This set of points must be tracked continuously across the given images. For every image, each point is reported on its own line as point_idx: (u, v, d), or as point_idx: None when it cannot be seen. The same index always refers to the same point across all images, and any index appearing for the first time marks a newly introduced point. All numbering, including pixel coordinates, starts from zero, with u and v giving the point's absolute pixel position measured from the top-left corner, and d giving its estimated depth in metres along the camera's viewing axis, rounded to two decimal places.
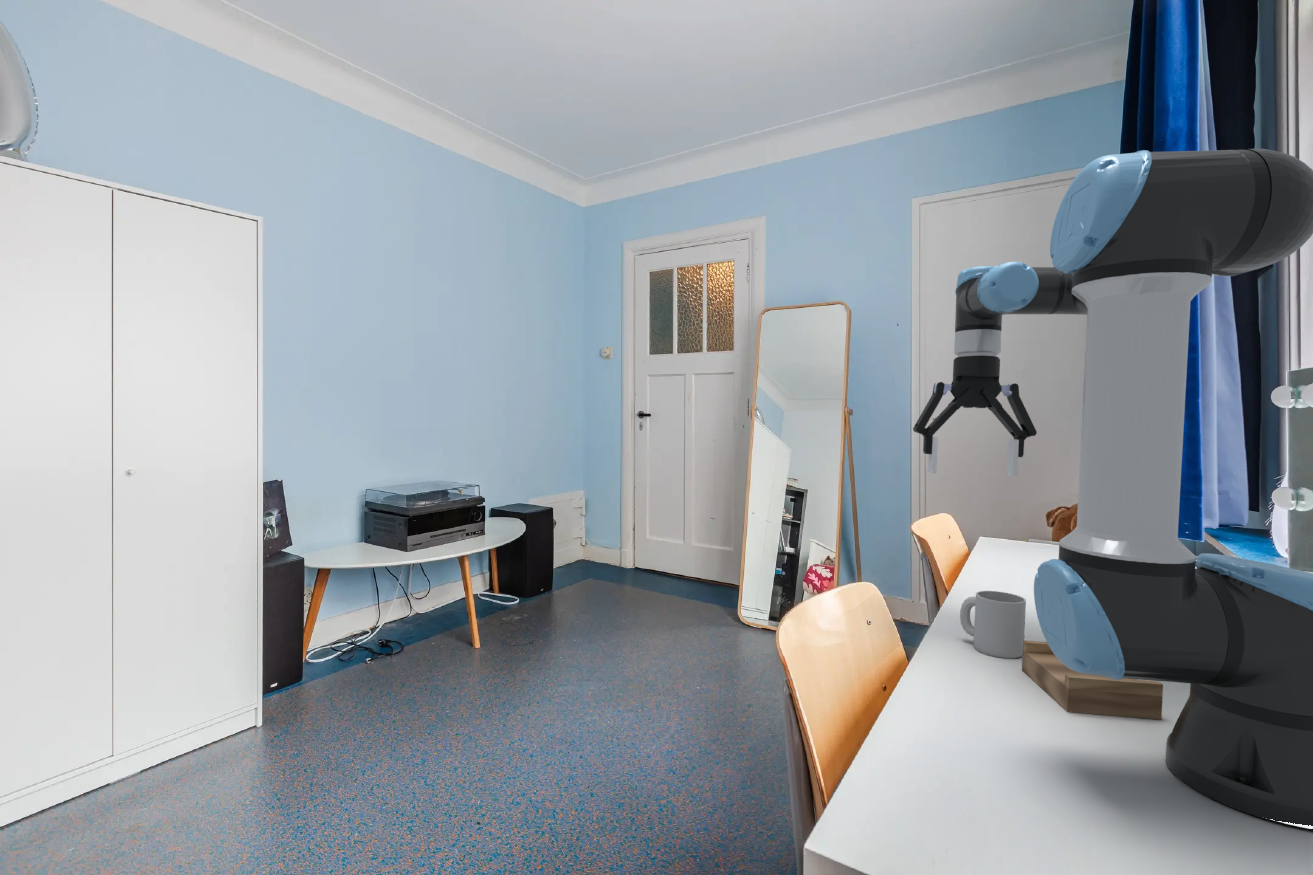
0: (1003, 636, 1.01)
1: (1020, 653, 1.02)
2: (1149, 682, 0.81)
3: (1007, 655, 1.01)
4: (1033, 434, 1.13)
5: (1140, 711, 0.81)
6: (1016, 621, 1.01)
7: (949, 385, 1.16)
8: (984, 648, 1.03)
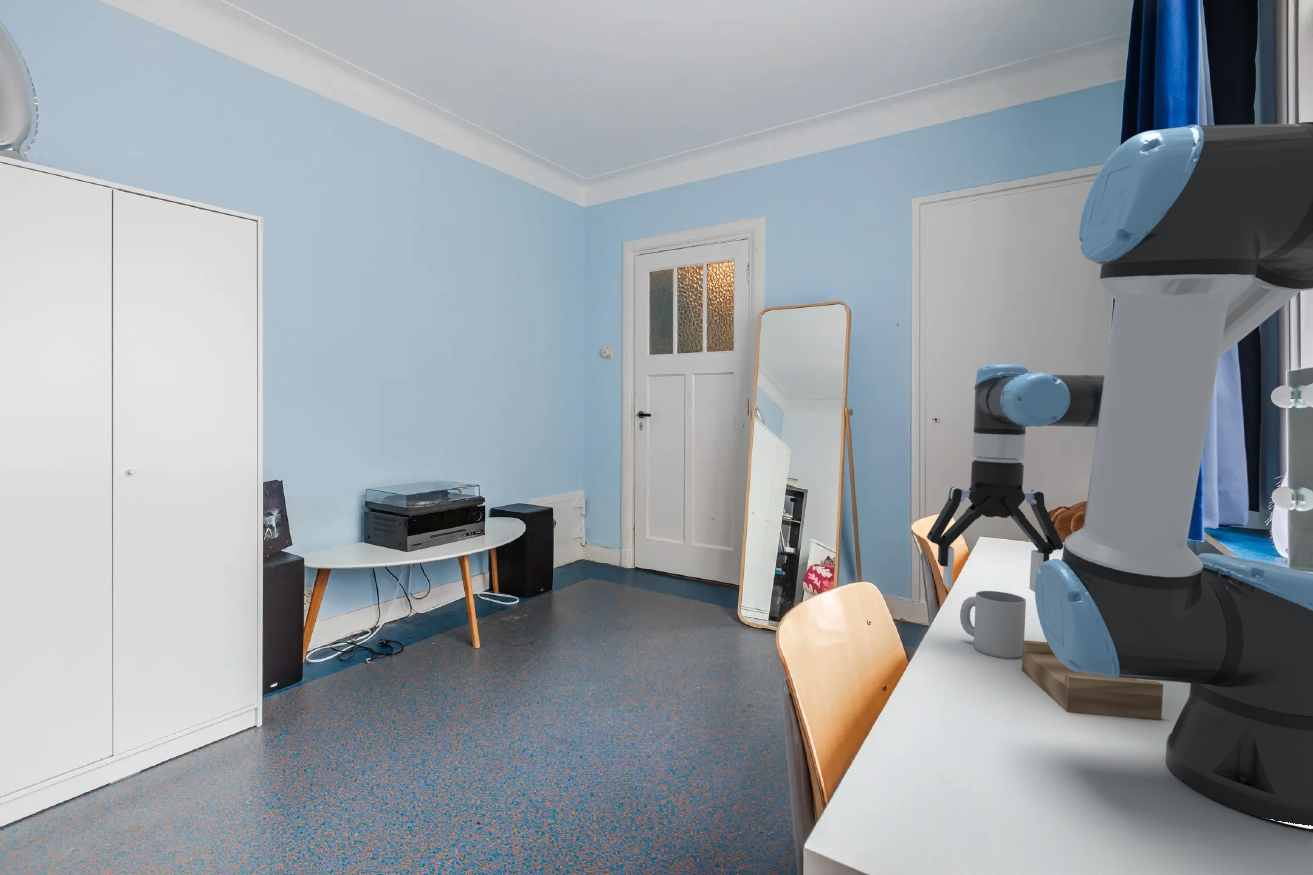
0: (1003, 636, 1.01)
1: (1020, 653, 1.02)
2: (1149, 682, 0.81)
3: (1007, 655, 1.01)
4: (1059, 548, 1.03)
5: (1140, 711, 0.81)
6: (1016, 621, 1.01)
7: (967, 491, 1.05)
8: (984, 648, 1.03)
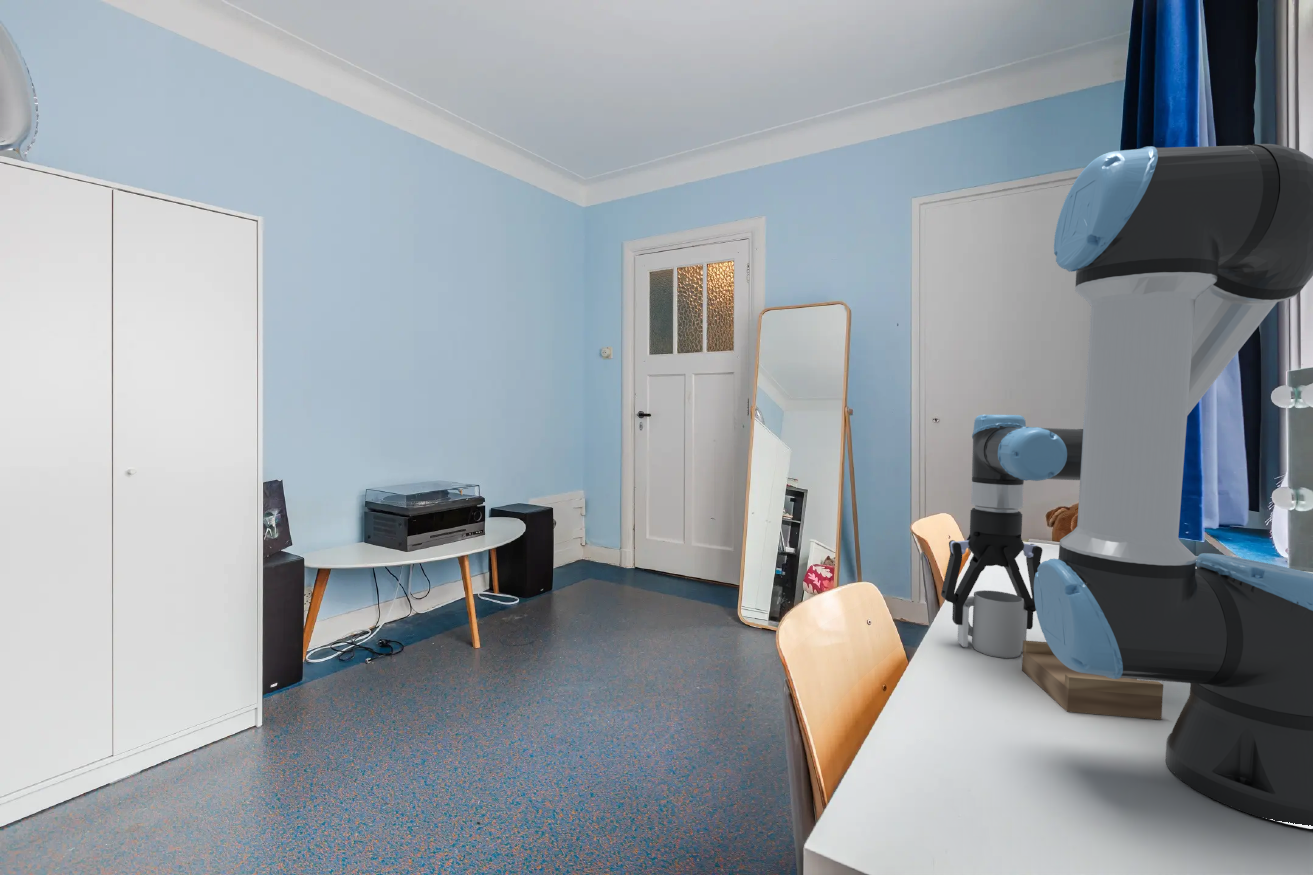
0: (1002, 636, 1.01)
1: (1018, 652, 1.02)
2: (1149, 682, 0.81)
3: (1005, 655, 1.01)
4: None
5: (1140, 711, 0.81)
6: (1014, 621, 1.01)
7: (966, 542, 1.05)
8: (982, 648, 1.03)
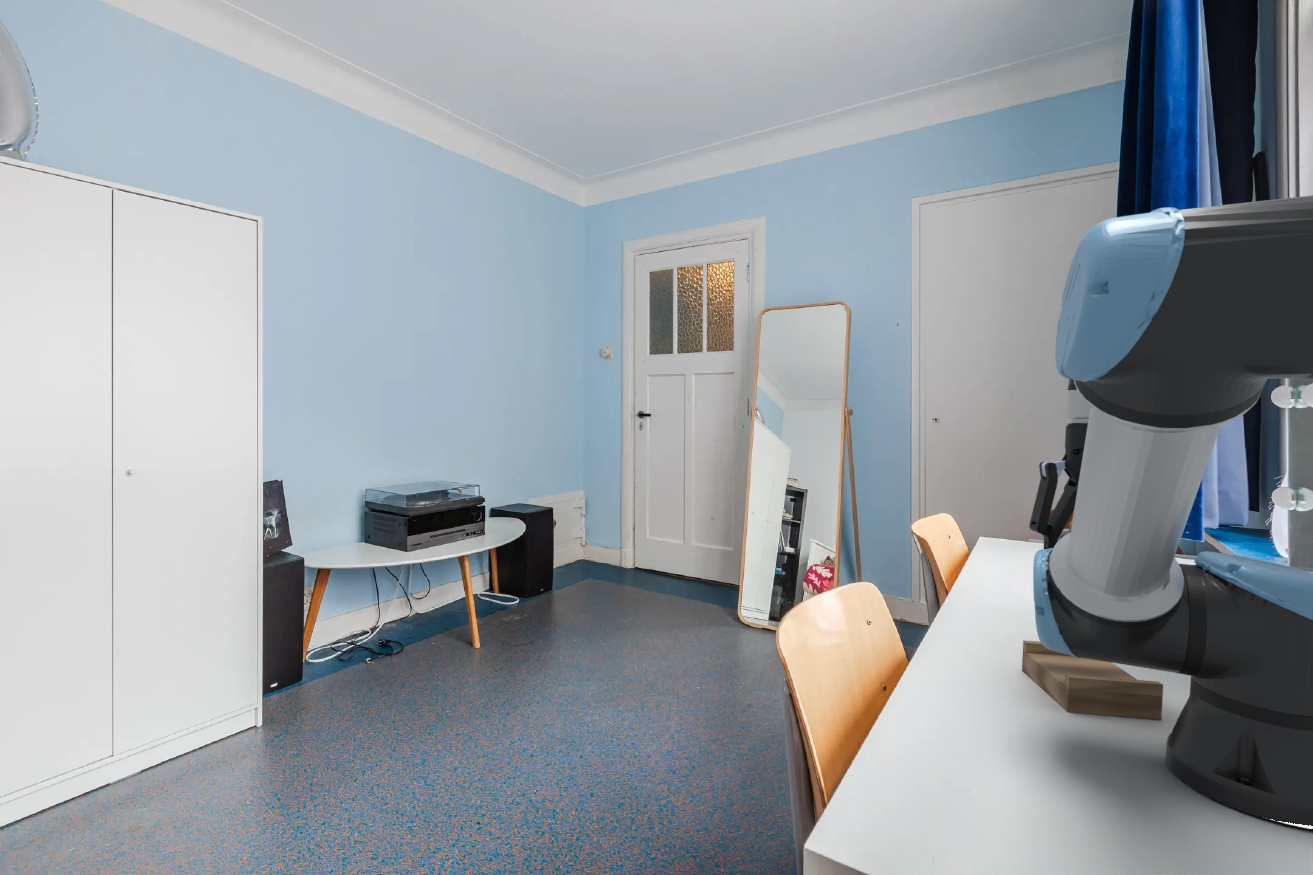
0: None
1: None
2: (1149, 682, 0.81)
3: None
4: None
5: (1140, 711, 0.81)
6: None
7: (1061, 463, 0.88)
8: None
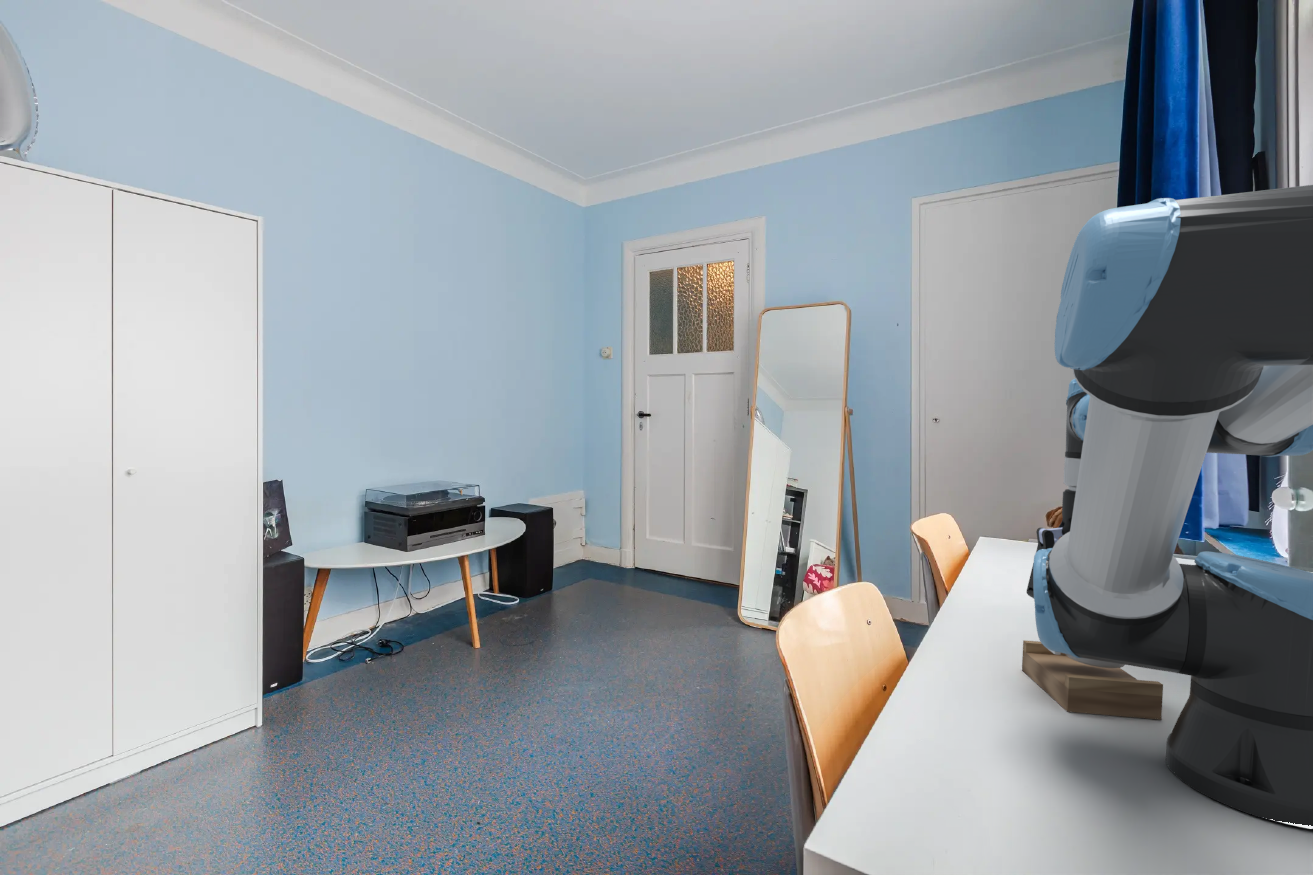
0: None
1: None
2: (1149, 682, 0.81)
3: (1109, 664, 0.84)
4: None
5: (1140, 711, 0.81)
6: None
7: (1058, 530, 0.88)
8: None
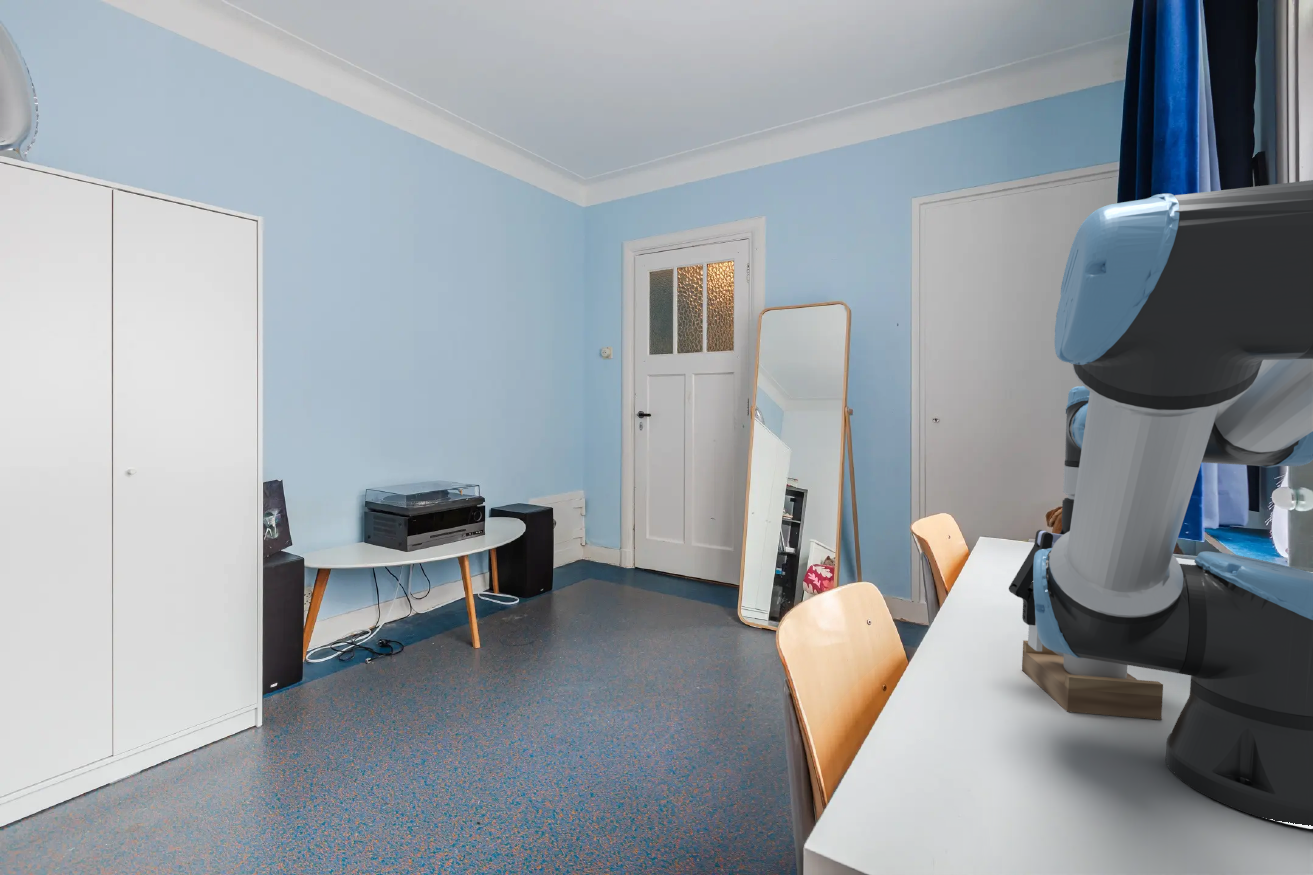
0: None
1: (1124, 678, 0.85)
2: (1149, 682, 0.81)
3: None
4: None
5: (1140, 711, 0.81)
6: None
7: (1058, 536, 0.88)
8: (1079, 671, 0.86)
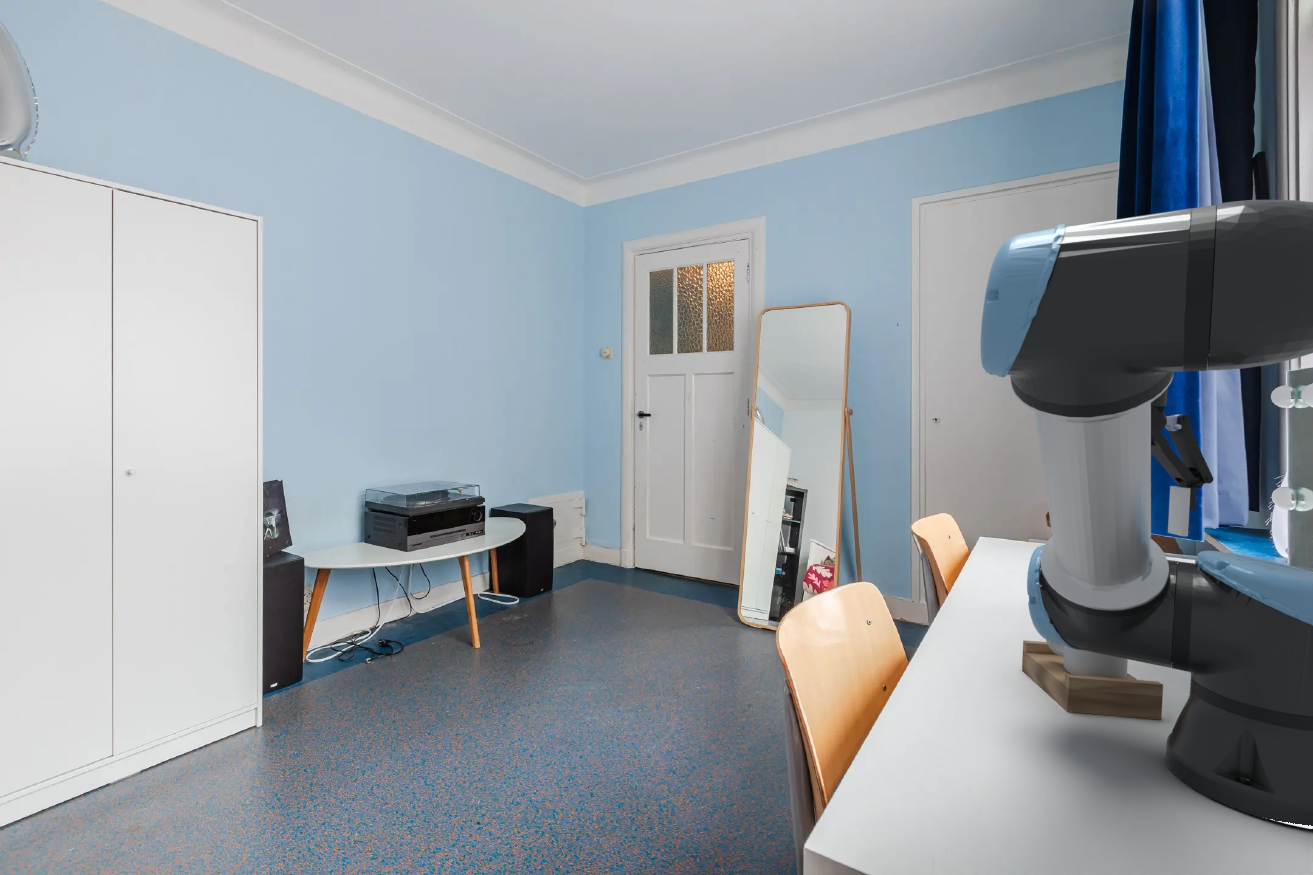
0: (1104, 657, 0.84)
1: (1124, 678, 0.85)
2: (1149, 682, 0.81)
3: None
4: (1209, 481, 0.86)
5: (1140, 711, 0.81)
6: None
7: None
8: (1079, 671, 0.86)
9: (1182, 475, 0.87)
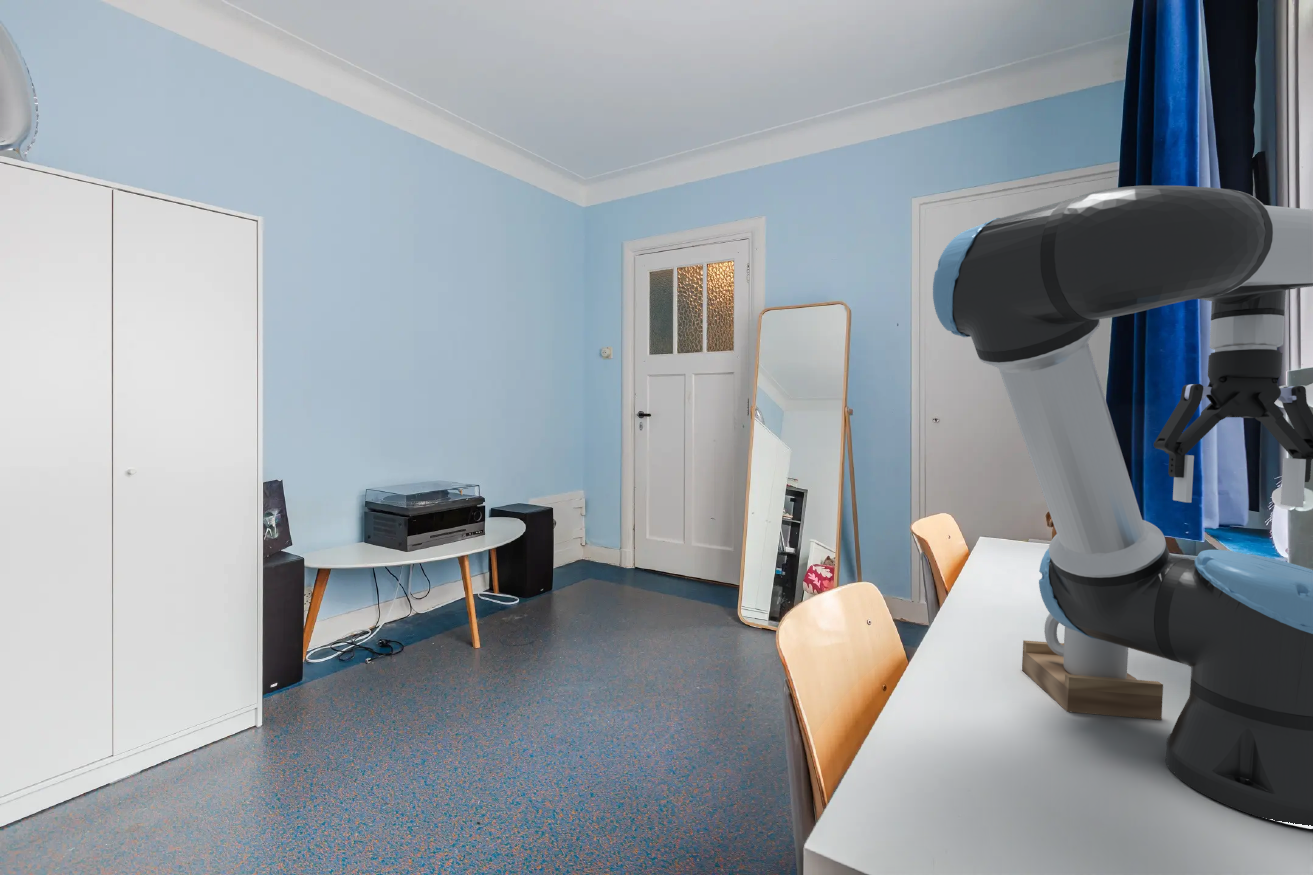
0: (1104, 657, 0.84)
1: (1124, 678, 0.85)
2: (1149, 682, 0.81)
3: None
4: None
5: (1140, 711, 0.81)
6: None
7: (1208, 388, 0.89)
8: (1079, 671, 0.86)
9: (1297, 446, 0.87)
